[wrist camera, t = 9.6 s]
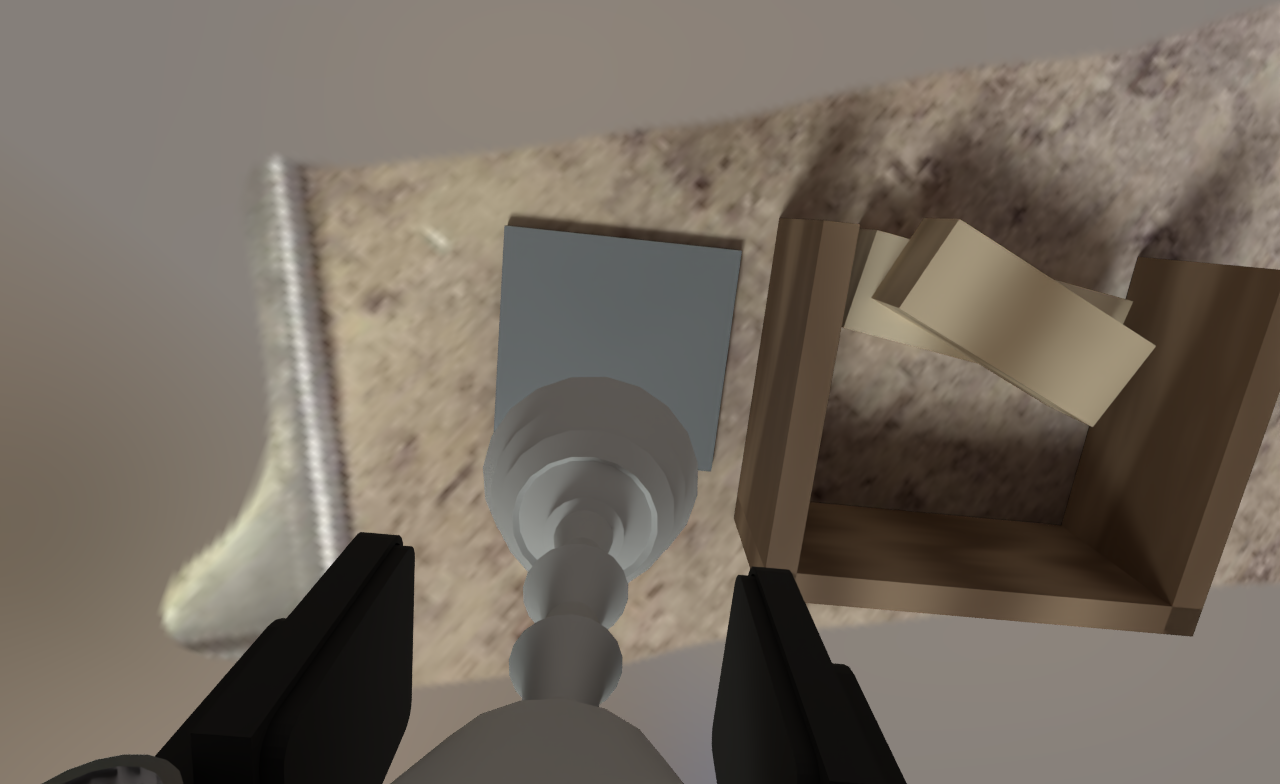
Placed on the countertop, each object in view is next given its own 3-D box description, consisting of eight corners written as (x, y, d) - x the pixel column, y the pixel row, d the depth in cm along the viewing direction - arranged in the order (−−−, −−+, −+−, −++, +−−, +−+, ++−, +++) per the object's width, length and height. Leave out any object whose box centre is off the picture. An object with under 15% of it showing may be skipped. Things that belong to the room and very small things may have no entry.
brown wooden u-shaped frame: (1164, 259, 30) (1321, 274, 23) (1078, 549, 33) (1192, 636, 27) (779, 218, 29) (824, 220, 22) (733, 518, 33) (760, 598, 26)
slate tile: (739, 250, 29) (741, 250, 29) (709, 466, 32) (711, 471, 31) (507, 225, 29) (504, 225, 28) (495, 446, 32) (492, 451, 31)
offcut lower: (1085, 292, 31) (1133, 301, 28) (1049, 376, 32) (1091, 393, 29) (853, 228, 30) (877, 230, 27) (823, 316, 31) (843, 327, 28)
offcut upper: (1101, 331, 28) (1156, 346, 25) (1046, 405, 29) (1092, 426, 26) (924, 217, 27) (959, 219, 24) (871, 297, 28) (898, 308, 25)
